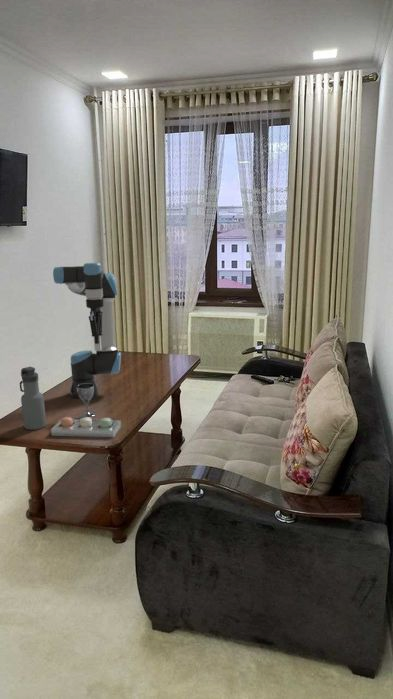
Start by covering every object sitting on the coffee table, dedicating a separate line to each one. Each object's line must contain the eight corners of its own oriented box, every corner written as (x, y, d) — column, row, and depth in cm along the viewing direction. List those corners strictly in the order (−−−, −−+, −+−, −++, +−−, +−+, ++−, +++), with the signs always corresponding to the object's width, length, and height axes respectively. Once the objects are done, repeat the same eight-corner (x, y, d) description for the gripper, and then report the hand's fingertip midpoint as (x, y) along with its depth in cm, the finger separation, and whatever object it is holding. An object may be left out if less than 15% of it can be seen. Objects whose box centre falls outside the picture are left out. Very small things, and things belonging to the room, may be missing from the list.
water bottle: (20, 426, 234) (13, 368, 227) (39, 420, 240) (33, 363, 234) (30, 432, 227) (23, 372, 220) (50, 426, 233) (44, 367, 227)
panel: (61, 425, 234) (61, 418, 233) (120, 426, 231) (120, 420, 230) (51, 435, 223) (51, 429, 222) (113, 437, 219) (113, 430, 219)
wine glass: (89, 418, 241) (87, 388, 237) (75, 417, 244) (73, 387, 240) (98, 413, 248) (96, 383, 244) (85, 411, 251) (82, 382, 247)
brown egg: (64, 427, 230) (63, 416, 229) (74, 427, 230) (73, 417, 229) (60, 431, 226) (59, 421, 224) (70, 431, 225) (69, 421, 224)
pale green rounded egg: (102, 428, 228) (101, 417, 227) (113, 428, 228) (112, 417, 227) (99, 432, 224) (98, 421, 222) (110, 432, 223) (109, 422, 222)
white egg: (83, 427, 229) (82, 417, 228) (93, 427, 229) (93, 417, 228) (79, 431, 225) (78, 421, 223) (90, 432, 224) (89, 421, 223)
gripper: (90, 296, 230) (94, 346, 236) (81, 300, 218) (85, 353, 224) (106, 296, 230) (110, 346, 235) (98, 300, 217) (102, 353, 223)
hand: (98, 350), depth 230 cm, fingers closed
